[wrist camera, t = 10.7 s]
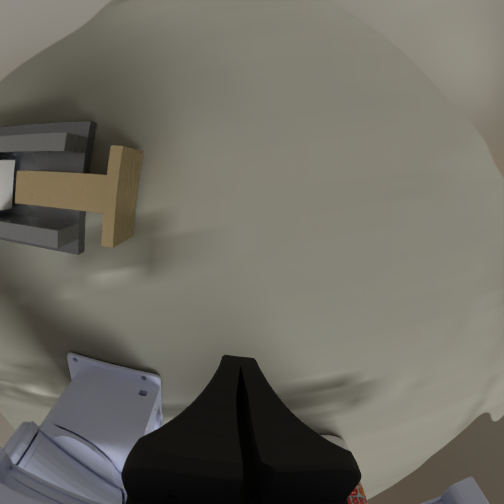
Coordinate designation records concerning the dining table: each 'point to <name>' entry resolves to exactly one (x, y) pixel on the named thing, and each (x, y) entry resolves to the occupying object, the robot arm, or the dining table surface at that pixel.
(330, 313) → the dining table surface
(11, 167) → the pointer
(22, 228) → the gauge frame
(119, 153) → the wooden t-shaped block
